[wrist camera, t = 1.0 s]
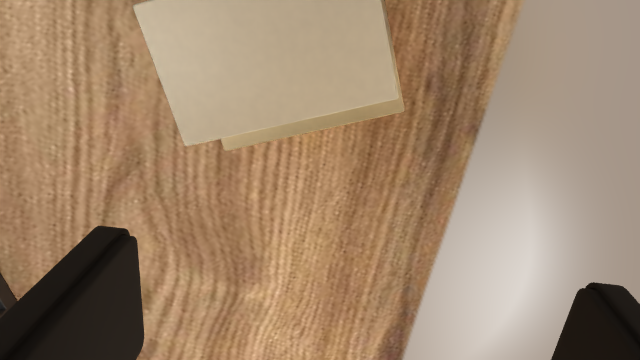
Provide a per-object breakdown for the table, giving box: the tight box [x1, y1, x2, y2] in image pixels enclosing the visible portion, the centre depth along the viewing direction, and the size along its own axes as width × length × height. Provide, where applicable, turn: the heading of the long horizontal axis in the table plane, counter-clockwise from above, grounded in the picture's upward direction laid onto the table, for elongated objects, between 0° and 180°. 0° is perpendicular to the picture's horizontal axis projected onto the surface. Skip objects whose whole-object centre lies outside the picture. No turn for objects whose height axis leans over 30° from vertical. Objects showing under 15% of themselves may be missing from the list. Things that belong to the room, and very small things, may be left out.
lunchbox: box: [133, 0, 399, 146], centre depth 18 cm, size 8×5×5 cm, turn 104°
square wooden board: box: [221, 0, 405, 151], centre depth 22 cm, size 9×9×3 cm
